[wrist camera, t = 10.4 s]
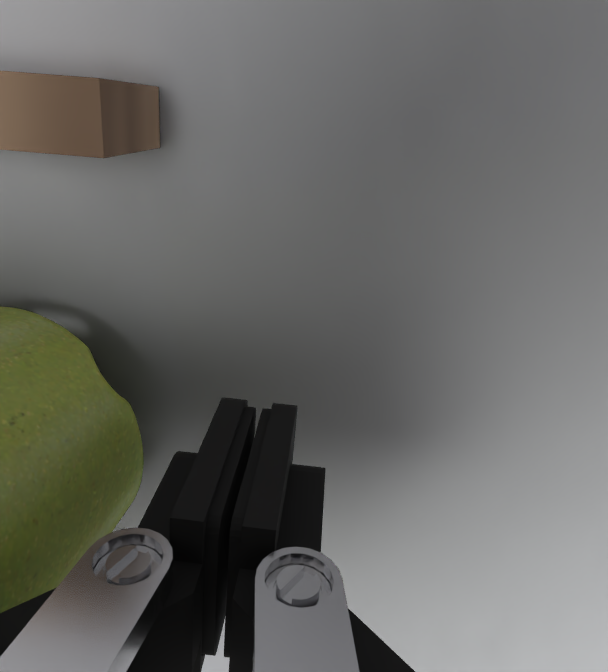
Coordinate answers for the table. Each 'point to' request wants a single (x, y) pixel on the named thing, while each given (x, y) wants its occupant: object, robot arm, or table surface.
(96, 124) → the dock
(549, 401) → the table surface
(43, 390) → the plant pot
